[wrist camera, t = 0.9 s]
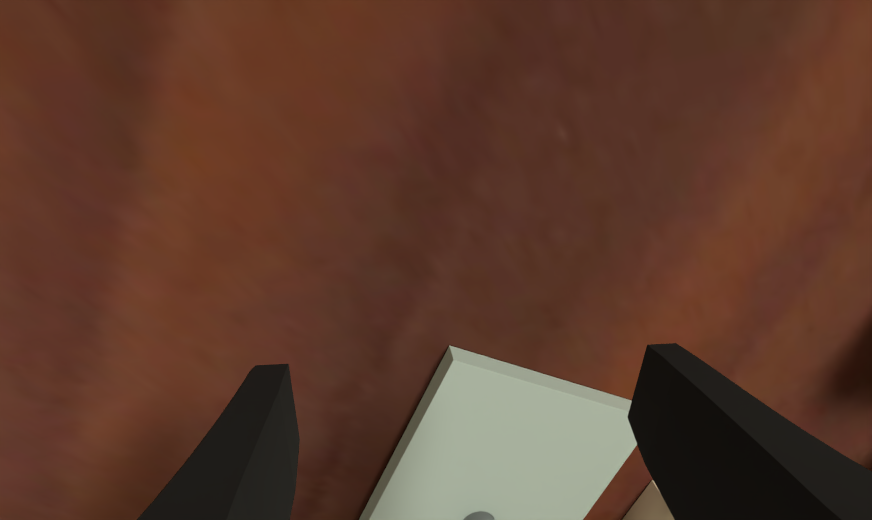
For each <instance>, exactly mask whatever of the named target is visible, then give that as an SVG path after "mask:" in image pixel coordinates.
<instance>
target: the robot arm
mask: <svg viewBox="0 0 872 520" xmlns="http://www.w3.org/2000/svg"><path fill="white" fill-rule="evenodd" d="M628 420H629V423H630V426H631V429H632V431H633V434H634V437H635V440H636V442H637V445H638V447H639V450H640V452H641V455H642V457H643V460H644V462H645V465H646V467H647V469H648V470H649V472H650V474H651V476H652V478H653V480H654V482H655V484H656V486H657V488H658V490H659V491H660V493H661V495H662V497H663V499H664V501H665V503H666V505H667V506H668V508H669V510H670V512H671V514H672V516H673V518H674V519H675V520H872V471H870V470H868V469H866V468H864V467H863V466H861V465H859V464H858V463H856V462H854V461H853V460H851V459H849V458H847V457H846V456H844V455H842V454H841V453H839V452H838V451H836V450H834V449H833V448H831V447H830V446H828V445H826V444H825V443H823V442H822V441H820V440H818V439H817V438H815V437H814V436H812V435H810V434H809V433H807V432H806V431H804V430H803V429H801V428H800V427H798V426H796V425H795V424H793V423H792V422H790V421H789V420H787V419H786V418H784V417H783V416H781V415H780V414H778V413H777V412H775V411H774V410H772V409H771V408H769V407H768V406H767V405H765V404H764V403H762V402H761V401H759V400H758V399H756V398H755V397H753V396H752V395H751V394H749V393H748V392H746V391H745V390H743V389H742V388H741V387H739V386H738V385H736V384H735V383H733V382H732V381H731V380H729V379H728V378H726V377H725V376H723V375H722V374H721V373H719V372H718V371H716V370H715V369H713V368H712V367H711V366H709V365H708V364H706V363H705V362H703V361H702V360H701V359H699V358H698V357H696V356H695V355H693V354H692V353H690V352H689V351H687V350H686V349H684V348H682V347H681V346H679V345H678V344H676V343H673V344H654V345H647V348H646V352H645V355H644V359H643V362H642V366H641V370H640V373H639V377H638V381H637V384H636V388H635V391H634V395H633V399H632V402H631V406H630V409H629V413H628ZM299 440H300V439H299V432H298V425H297V418H296V412H295V405H294V398H293V392H292V385H291V378H290V371H289V365H288V364H276V365H257V366H255V367H254V368H253V369H252V370H251V371H250V372H249V374H248V375H247V377H246V378H245V380H244V381H243V383H242V384H241V386H240V388H239V389H238V391H237V392H236V394H235V395H234V397H233V398H232V399H231V401H230V402H229V404H228V405H227V407H226V408H225V410H224V411H223V412H222V414H221V415H220V417H219V418H218V420H217V421H216V422H215V424H214V425H213V426H212V428H211V429H210V430H209V432H208V433H207V434H206V436H205V437H204V438H203V440H202V441H201V442H200V444H199V445H198V446H197V448H196V449H195V450H194V452H193V453H192V454H191V456H190V457H189V458H188V459H187V461H186V462H185V463H184V464H183V466H182V467H181V468H180V469H179V471H178V472H177V473H176V474H175V475H174V477H173V478H172V479H171V480H170V481H169V483H168V484H167V485H166V486H165V487H164V489H163V490H162V491H161V492H160V493H159V495H158V496H157V497H156V498H155V499H154V501H153V502H152V503H151V504H150V505H149V506H148V508H147V509H146V510H145V511H144V512H143V513H142V514H141V515H140V517H139V518H138V519H137V520H290V515H291V510H292V505H293V500H294V494H295V488H296V477H297V466H298V453H299Z"/></svg>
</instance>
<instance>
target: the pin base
mask: <svg viewBox="0 0 872 520" xmlns="http://www.w3.org/2000/svg"><path fill="white" fill-rule="evenodd" d="M631 402H632V401H631V400H628V399H625V398H621V397H618V396H615V395H611V394H608V393H605V392H602V391H598V390H595V389H592V388H588V387H585V386H582V385H578V384H575V383H572V382H568V381H565V380H562V379H559V378H555V377H552V376H549V375H545V374H542V373H539V372H535V371H532V370H529V369H526V368H522V367H519V366H516V365H512V364H509V363H506V362H502V361H499V360H496V359H492V358H489V357H486V356H483V355H479V354H476V353H473V352H469V351H466V350H463V349H459V348H456V347H453V346H450V345H449V347H448V349H447V351H446V353H445V355H444V357H443V359H442V361H441V363H440V364H439V366H438V368H437V370H436V372H435V374H434V376H433V378H432V380H431V382H430V384H429V386H428V388H427V390H426V391H425V393H424V395H423V397H422V399H421V401H420V403H419V405H418V407H417V409H416V411H415V413H414V415H413V416H412V418H411V420H410V422H409V424H408V426H407V428H406V430H405V432H404V434H403V436H402V438H401V440H400V441H399V443H398V445H397V447H396V449H395V451H394V453H393V455H392V457H391V459H390V461H389V463H388V465H387V467H386V468H385V470H384V472H383V474H382V476H381V478H380V480H379V482H378V484H377V486H376V488H375V490H374V492H373V493H372V495H371V497H370V499H369V501H368V503H367V505H366V507H365V509H364V511H363V513H362V515H361V517H360V518H359V520H583V519H584V517H585V516H586V515H587V513H588V512H589V511H590V509H591V508H592V506H593V505H594V504H595V502H596V501H597V499H598V498H599V497H600V495H601V494H602V492H603V491H604V490H605V488H606V487H607V486H608V484H609V483H610V481H611V480H612V479H613V477H614V476H615V474H616V473H617V472H618V470H619V469H620V467H621V466H622V465H623V463H624V462H625V461H626V459H627V458H628V456H629V455H630V454H631V452H632V451H633V449H634V448H635V447H636V445H637V442H636V440H635V437H634V434H633V431H632V429H631V426H630V423H629V420H628V413H629V409H630V406H631Z"/></svg>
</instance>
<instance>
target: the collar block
mask: <svg viewBox="0 0 872 520" xmlns="http://www.w3.org/2000/svg"><path fill="white" fill-rule="evenodd" d="M622 520H675V519H674V518H673V516H672V514H671V512H670V510H669V508H668V506H667V505H666V503H665V501H664V499H663V497H662V495H661V493H660V491H659V490H658V488H657V486H656V484H655V482H654V481H653V480H652V481H651V482H650V483H649V485H648V486H647V487H646V489H645V490H644V491H643V493H642V494H641V495H640V497H639V498H638V499H637V501H636V502H635V503H634V505H633V506H632V507H631V509H630V510H629V511H628V513H627V514H626V515H625V517H624V518H623V519H622Z"/></svg>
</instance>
